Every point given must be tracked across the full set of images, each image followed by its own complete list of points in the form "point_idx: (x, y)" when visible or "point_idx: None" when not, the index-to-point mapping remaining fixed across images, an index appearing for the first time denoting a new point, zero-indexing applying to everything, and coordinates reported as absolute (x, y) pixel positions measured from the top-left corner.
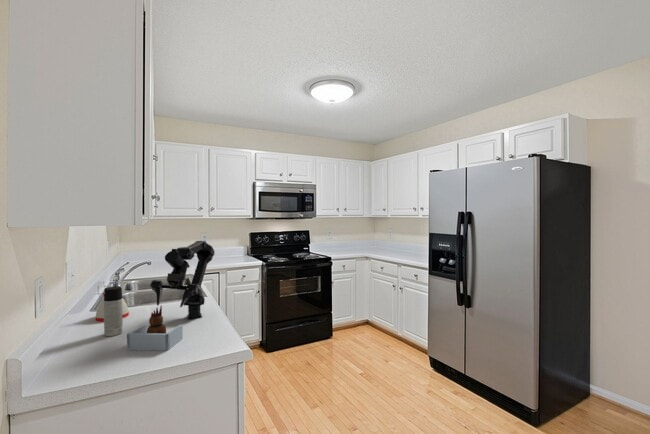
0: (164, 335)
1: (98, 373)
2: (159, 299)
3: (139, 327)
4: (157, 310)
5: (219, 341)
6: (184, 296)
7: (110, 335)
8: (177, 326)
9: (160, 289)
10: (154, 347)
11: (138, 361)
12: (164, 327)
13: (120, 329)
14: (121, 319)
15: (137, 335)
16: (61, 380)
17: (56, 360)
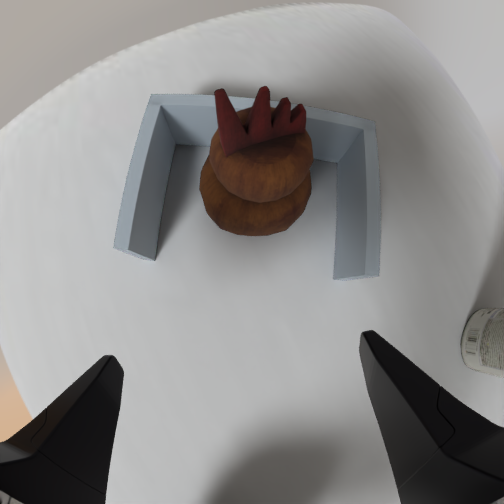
0: (170, 97)
1: (317, 31)
2: (385, 391)
3: (377, 216)
4: (255, 107)
5: (9, 218)
6: (42, 433)
7: (479, 310)
8: (131, 209)
9: (463, 498)
10: None
11: (243, 66)
12: (201, 173)
13: (472, 340)
14: (500, 353)
15: (318, 111)
16: (375, 29)
17: (478, 133)
